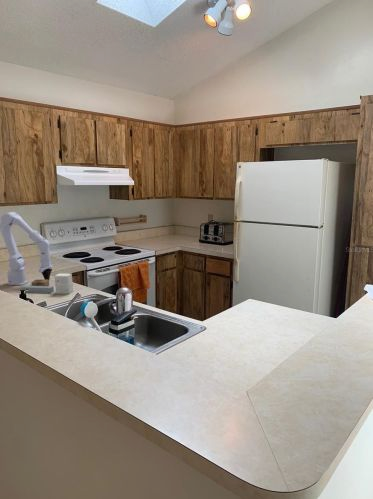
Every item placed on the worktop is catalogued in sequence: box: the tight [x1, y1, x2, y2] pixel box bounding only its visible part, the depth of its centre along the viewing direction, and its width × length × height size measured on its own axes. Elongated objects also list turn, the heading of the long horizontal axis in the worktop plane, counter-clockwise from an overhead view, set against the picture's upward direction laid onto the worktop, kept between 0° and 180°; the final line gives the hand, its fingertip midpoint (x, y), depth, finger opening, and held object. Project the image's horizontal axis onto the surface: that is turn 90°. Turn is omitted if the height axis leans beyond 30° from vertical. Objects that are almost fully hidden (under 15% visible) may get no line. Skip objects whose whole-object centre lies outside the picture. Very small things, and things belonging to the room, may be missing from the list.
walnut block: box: [31, 279, 50, 286], centre depth 226 cm, size 8×6×4 cm
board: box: [20, 285, 55, 294], centre depth 217 cm, size 18×3×3 cm, turn 83°
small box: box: [54, 273, 74, 295], centre depth 215 cm, size 8×6×10 cm
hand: (47, 280), depth 235 cm, fingers closed
